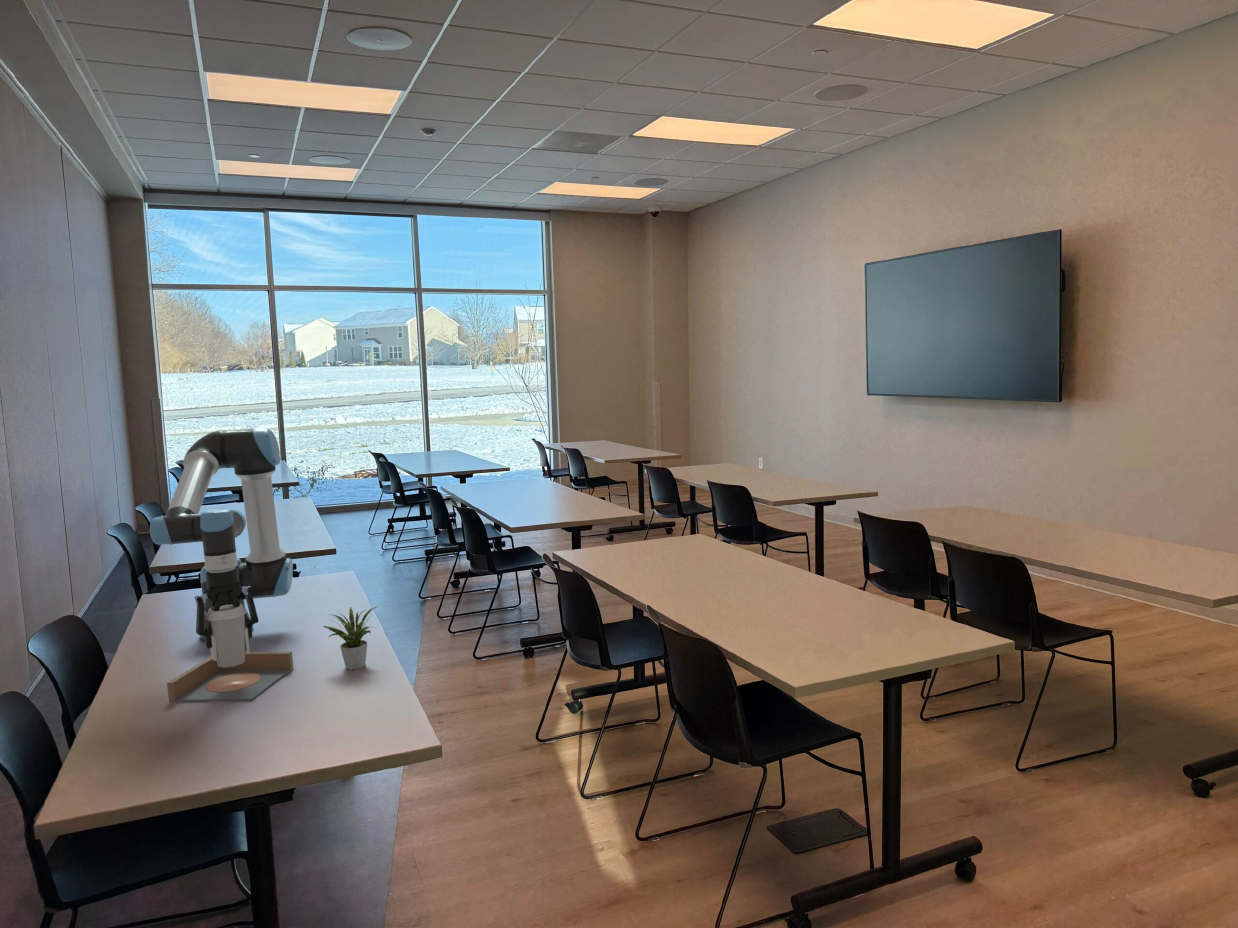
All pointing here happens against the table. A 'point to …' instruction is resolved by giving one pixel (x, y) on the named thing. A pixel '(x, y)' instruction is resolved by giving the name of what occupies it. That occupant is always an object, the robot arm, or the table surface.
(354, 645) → the house plant
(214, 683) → the tray
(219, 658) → the coffee cup
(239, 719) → the table surface
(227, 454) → the robot arm
